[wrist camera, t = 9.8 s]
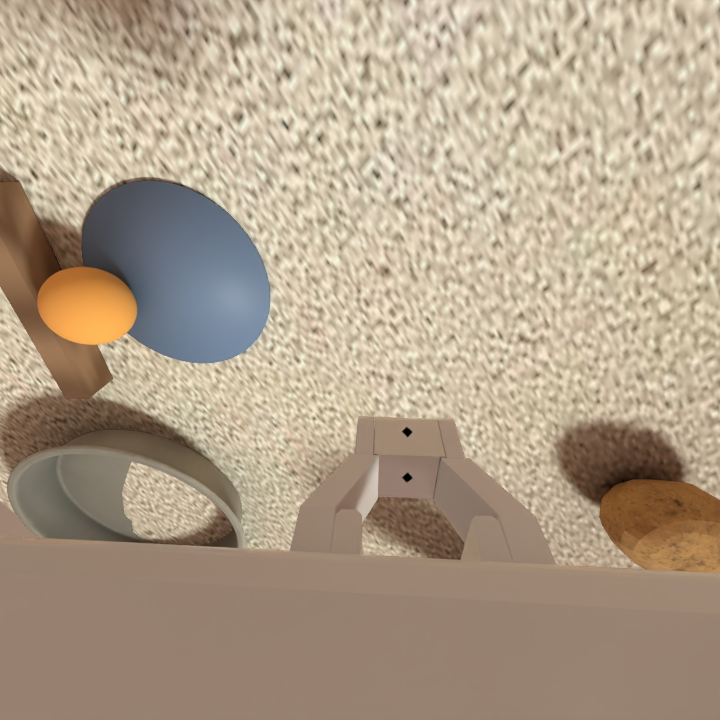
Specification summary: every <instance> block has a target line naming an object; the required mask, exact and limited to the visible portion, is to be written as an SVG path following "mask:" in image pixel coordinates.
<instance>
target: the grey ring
mask: <svg viewBox="0 0 720 720" xmlns="http://www.w3.org/2000/svg"><path fill="white" fill-rule="evenodd" d="M131 461H133V462H137V463H140V464H143V465H147V466H149V467H152V468H155V469H157V470H160V471H162V472H165V473H167V474H169V475H171V476H173V477H176V478H177V479H179V480H181V481H183V482H185V483H187V484H188V485H190V486H191V487H193V488H195V489H196V490H198V491H199V492H201V493H202V494H203V495H205V496H206V497H207V498H209V499H210V500H211V501H212V502H213V503H214V504H215V505H217V506H218V507H219V508H220V509H221V511H222V512H223V513H224V514H225V515H226V516H227V518H228V519H229V521H230V522H231V524H232V526H233V528H234V530H233V531H232V532H231V533H229V534H228V535H227V536H226V537H224V538H222V539H220V540H218V541H215V542H213V543H209V544H205V545H199V546H208V547H227V548H245V547H246V540H245V535H244V531H243V528H242V526H241V517H242V505H241V500H240V497H239V495H238V492H237V491H236V489H235V487H234V486H233V484H232V483H231V481H230V480H229V479H228V478H227V477H226V475H225V474H224V473H223V472H222V471H221V470H220V469H218V468H217V467H216V466H215V465H214V464H213V463H211V462H210V461H209V460H207V459H206V458H204V457H203V456H201V455H200V454H198V453H196V452H195V451H193V450H191V449H189V448H187V447H185V446H183V445H181V444H179V443H176V442H174V441H172V440H169V439H166V438H163V437H160V436H157V435H153V434H149V433H144V432H139V431H133V430H121V429H109V430H99V431H93V432H89V433H86V434H83V435H81V436H79V437H76V438H74V439H73V440H71V441H69V442H68V443H66V444H64V445H63V446H59V447H54V448H49V449H45V450H42V451H39V452H36V453H34V454H32V455H30V456H28V457H26V458H25V459H23V460H22V461H21V462H19V463H18V464H17V465H16V466H15V467H14V469H13V471H12V472H11V474H10V476H9V479H8V483H7V493H8V498H9V501H10V503H11V506H12V508H13V510H14V512H15V513H16V515H17V516H18V518H19V519H20V520H21V522H22V523H23V524H24V525H25V526H26V527H27V528H28V529H29V530H30V531H31V532H32V533H33V534H34V535H35V536H36V537H37V538H55V539H74V540H93V541H112V542H131V543H151V544H158V543H155V542H150V541H145V540H143V539H141V538H140V537H139V536H137V535H136V534H135V533H133V529H132V521H131V520H129V519H128V518H127V517H126V515H125V514H124V507H123V498H122V490H123V486H124V482H125V479H126V475H127V472H128V469H129V466H130V463H131Z"/></svg>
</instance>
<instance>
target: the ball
mask: <svg viewBox="0 0 720 720" xmlns="http://www.w3.org/2000/svg"><path fill="white" fill-rule="evenodd" d="M37 306H38V311H39V314H40V316H41V318H42V319H43V321H44V322H45V324H46V325H47V326H48V327H49V328H50V329H51V330H52V331H53V332H55V333H56V334H57V335H59V336H61V337H63V338H64V339H67V340H69V341H72V342H76V343H80V344H88V345H98V344H105V343H109V342H112V341H114V340H117V339H119V338H120V337H122V336H123V335H125V334H126V333H127V332H128V331H129V330H130V329H131V327H132V326H133V324H134V322H135V320H136V317H137V303H136V300H135V297H134V295H133V293H132V291H131V290H130V289H129V287H128V286H127V285H126V284H125V283H124V282H123V281H122V280H120V279H119V278H118V277H116V276H114V275H113V274H111V273H109V272H106V271H104V270H101V269H97V268H92V267H72V268H68V269H64V270H61V271H59V272H57V273H55V274H53V275H52V276H50V277H49V278H48V279H47V280H46V281H45V282H44V284H43V285H42V286H41V288H40V290H39V293H38V298H37Z"/></svg>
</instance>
